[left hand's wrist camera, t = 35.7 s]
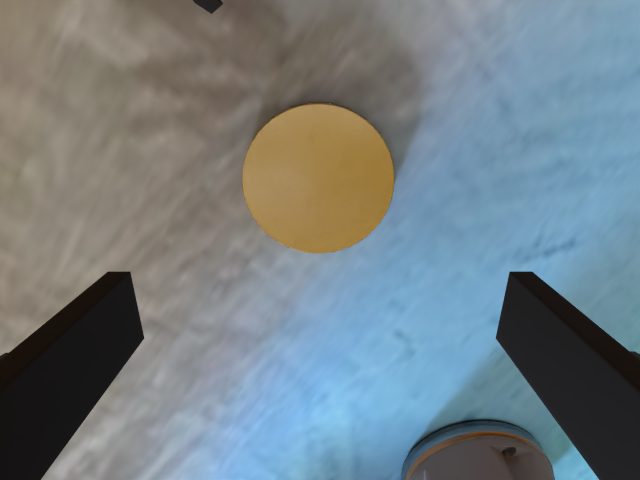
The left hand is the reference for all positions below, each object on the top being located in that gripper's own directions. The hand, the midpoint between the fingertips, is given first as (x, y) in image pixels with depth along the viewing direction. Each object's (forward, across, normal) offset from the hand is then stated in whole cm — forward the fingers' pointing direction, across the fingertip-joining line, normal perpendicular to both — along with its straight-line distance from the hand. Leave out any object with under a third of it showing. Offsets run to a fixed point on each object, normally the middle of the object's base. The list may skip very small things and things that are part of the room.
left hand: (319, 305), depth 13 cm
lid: (+14, 0, -1) cm, 15 cm away
